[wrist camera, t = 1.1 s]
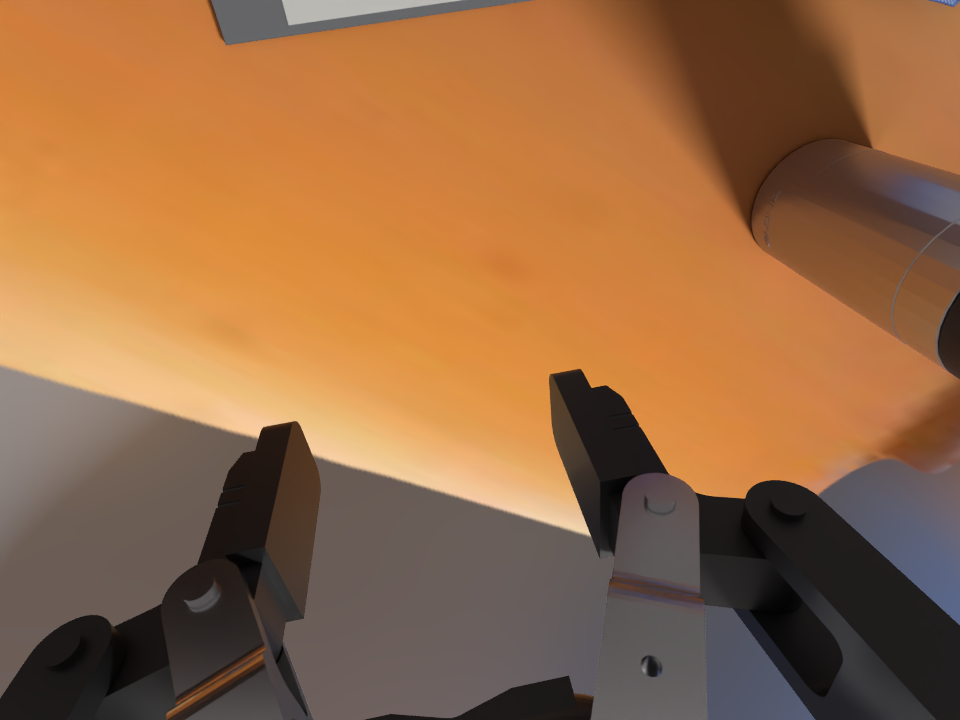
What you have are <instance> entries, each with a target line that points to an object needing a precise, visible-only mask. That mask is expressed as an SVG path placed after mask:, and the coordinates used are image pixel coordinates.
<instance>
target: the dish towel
mask: <svg viewBox="0 0 960 720" xmlns="http://www.w3.org/2000/svg"><path fill="white" fill-rule="evenodd" d="M930 1H934V2H939V3H942V4H945V5H949V6H952V7H954V6H955V5H957V4H958V3H959V1H960V0H930Z"/></svg>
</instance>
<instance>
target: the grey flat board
mask: <svg viewBox="0 0 960 720" xmlns="http://www.w3.org/2000/svg"><path fill="white" fill-rule="evenodd" d="M211 1H212V4H213V7H214V10H215V13H216V16H217V19H218V22H219V25H220V28H221V31H222V34H223V37H224V40H225V44H226V45H231V44H237V43H244V42H251V41H258V40H265V39H272V38H278V37H285V36H292V35H299V34H306V33H312V32H319V31H326V30H333V29H340V28H347V27H353V26H360V25H367V24H374V23H381V22H388V21H394V20H401V19H408V18H415V17H422V16H428V15H435V14H442V13H449V12H456V11H463V10H469V9H476V8H483V7H490V6H497V5H503V4H510V3H517V2H524V1H531V0H211Z"/></svg>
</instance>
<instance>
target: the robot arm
mask: <svg viewBox="0 0 960 720" xmlns="http://www.w3.org/2000/svg"><path fill="white" fill-rule="evenodd" d="M751 225H752V231H753V235H754V238H755V240H756V242H757V244H758V245H759V246H760V247H761V248H762V249H763V251H765V252H766V253H768V254H770V255H771V256H773V257H774V258H776V259H777V260H779V261H780V262H782V263H783V264H785V265H786V266H788V267H789V268H791V269H792V270H794V271H795V272H796V273H798V274H799V275H801V276H802V277H804V278H805V279H807V280H809V281H810V282H812V283H813V284H815V285H816V286H818V287H819V288H821V289H822V290H824V291H825V292H827V293H828V294H830V295H831V296H833V297H834V298H836V299H838V300H839V301H841V302H842V303H844V304H845V305H847V306H848V307H850V308H851V309H853V310H854V311H856V312H857V313H859V314H860V315H862V316H863V317H865V318H867V319H868V320H870V321H871V322H873V323H874V324H876V325H877V326H879V327H880V328H882V329H883V330H885V331H886V332H888V333H889V334H891V335H893V336H894V337H896V338H897V339H899V340H900V341H902V342H903V343H905V344H907V345H908V346H910V347H911V348H913V349H914V350H916V351H917V352H919V353H920V354H922V355H923V356H925V357H927V358H928V359H930V360H931V361H933V362H934V363H936V364H937V365H939V366H940V367H942V368H943V369H945V370H946V371H948V372H950V373H951V374H953V375H954V376H956V377H957V378H959V379H960V175H958V174H954V173H951V172H948V171H944V170H941V169H938V168H934V167H931V166H928V165H924V164H921V163H918V162H914V161H911V160H908V159H904V158H901V157H898V156H894V155H891V154H888V153H885V152H882V151H879V150H875V149H872V148H868V147H865V146H862V145H858V144H855V143H852V142H848V141H845V140H841V139H824V140H818V141H815V142H812V143H809V144H807V145H804V146H803V147H801V148H799V149H797V150H796V151H794V152H792V153H791V154H790V155H788V156H787V157H786V158H785V159H784V160H782V161H781V162H780V163H779V164H778V165H777V166H776V167H775V168H774V170H773V171H772V172H771V173H770V174H769V176H768V177H767V179H766V180H765V182H764V183H763V185H762V186H761V188H760V190H759V192H758V195H757V197H756V199H755V203H754V206H753V210H752V220H751ZM549 386H550V402H551V418H552V428H553V434H554V438H555V442H556V446H557V449H558V451H559V454H560V457H561V459H562V462H563V464H564V467H565V470H566V472H567V475H568V477H569V480H570V483H571V485H572V488H573V490H574V493H575V496H576V498H577V501H578V503H579V506H580V508H581V511H582V514H583V516H584V519H585V521H586V524H587V527H588V529H589V532H590V534H591V537H592V539H593V542H594V545H595V547H596V550H597V553H598V555H599V558H600V559H602V558H607V557H612V556H614V565H613V572H612V579H610V582H609V587H608V594H607V601H606V609H605V616H604V624H603V631H602V639H601V647H600V655H599V662H598V670H597V677H596V685H595V693H594V696H591V695H586V694H575V693H573V689H572V685H571V682H570V678H569V676H565V677H561V678H556V679H552V680H547V681H542V682H537V683H533V684H528V685H523V686H519V687H515V688H511V689H509V690H507V691H505V692H503V693H501V694H499V695H498V696H496V697H494V698H492V699H490V700H488V701H487V702H484V703H482V704H481V705H479V706H477V707H475V708H473V709H471V710H469V711H467V712H465V713H464V714H462V715H460V716H458V717H455V718H435V717H421V716H408V715H395V714H389V715H385V716H380V717H376V718H371V719H366V720H707V684H706V637H705V605H710V606H719V607H728V608H733V609H734V610H735V612H736V613H737V614H738V616H739V617H740V619H741V620H742V621H743V623H744V624H745V625H746V627H747V628H748V629H749V631H750V632H751V633H752V635H753V636H754V637H755V639H756V640H757V641H758V643H759V644H760V645H761V647H762V648H763V650H764V651H765V652H766V654H767V655H768V656H769V658H770V659H771V660H772V662H773V663H774V664H775V666H776V667H777V668H778V670H779V671H780V672H781V674H782V675H783V676H784V678H785V679H786V680H787V682H788V683H789V684H790V686H791V687H792V689H793V690H794V691H795V693H796V694H797V695H798V696H799V698H800V699H801V701H802V702H803V703H804V705H805V706H806V707H807V709H808V710H809V712H810V713H811V714H812V716H813V717H814V718H815V719H816V720H960V625H958V623H956V622H955V621H954V620H953V619H952V618H951V617H950V616H949V615H948V614H947V613H946V612H944V611H943V610H942V609H941V608H940V607H939V606H938V605H937V604H936V603H935V602H933V601H932V600H931V599H930V598H929V597H928V596H927V595H926V594H925V593H924V592H923V591H921V590H920V589H919V588H918V587H917V586H916V585H915V584H914V583H913V582H911V580H909V579H908V578H907V577H906V576H905V575H904V574H903V573H902V572H901V571H900V570H898V569H897V568H896V567H895V566H894V565H893V564H892V563H891V562H890V561H889V560H888V559H886V558H885V557H884V556H883V555H882V554H881V553H880V552H879V551H878V550H876V548H874V547H873V546H872V545H871V544H870V543H869V542H868V541H867V540H866V539H864V538H863V537H862V536H861V535H860V534H859V533H858V532H857V531H856V530H855V529H854V528H852V527H851V526H850V525H849V524H848V523H847V522H846V521H845V520H844V519H843V518H842V517H840V516H839V515H838V514H837V513H836V512H835V511H834V510H833V509H832V508H831V507H829V506H828V505H827V504H826V503H825V502H824V501H823V500H822V499H821V498H819V497H818V496H817V495H816V494H815V493H813V492H812V491H810V490H808V489H807V488H805V487H802V486H800V485H797V484H795V483H791V482H787V481H780V480H771V481H764V482H760V483H758V484H756V485H754V486H753V487H751V489H750V490H749V491H748V493H747V495H746V498H745V499H741V498H727V497H713V496H706V495H702V494H698V493H695V492H694V491H693V490H692V488H691V487H690V486H689V485H688V484H686V483H685V482H684V481H682V480H680V479H678V478H676V477H674V476H671V475H669V473H668V472H667V470H666V469H665V467H664V465H663V464H662V462H661V460H660V459H659V457H658V455H657V454H656V452H655V450H654V449H653V447H652V445H651V444H650V442H649V440H648V439H647V437H646V435H645V434H644V432H643V430H642V429H641V427H639V424H638V422H637V420H636V419H635V417H634V415H632V413H631V410H630V409H629V407H628V405H627V404H626V402H625V400H624V399H623V397H622V396H620V395H619V394H618V393H616V392H615V391H613V390H612V389H610V388H609V387H608V386H606V385H605V386H600V387H595V388H591V386H590V385H589V383H588V381H587V379H586V377H585V375H584V373H583V372H582V370H581V369H577V370H571V371H566V372H560V373H555V374H550V376H549ZM320 492H321V485H320V477H319V472H318V468H317V466H316V463H315V461H314V458H313V456H312V453H311V451H310V448H309V446H308V443H307V441H306V439H305V436H304V434H303V431H302V429H301V426H300V425H299V423H298V422H297V421H294V422H288V423H283V424H278V425H272V426H267V427H263V428H262V430H261V433H260V436H259V439H258V443H257V446H256V450H255V451H251V452H246V453H243V454H242V455H241V456H240V458H239V459H238V460H237V461H236V463H235V464H234V465H233V467H231V469H230V470H229V472H228V475H227V478H226V481H225V484H224V487H223V493H221V495H220V498H219V501H218V508H216V510H215V513H214V516H213V519H212V522H211V525H210V528H209V531H208V535H207V537H206V540H205V543H204V546H203V549H202V552H201V555H200V558H199V561H198V564H197V565H195V566H193V567H192V568H190V569H188V570H187V571H185V572H184V573H183V574H182V575H180V576H179V577H178V578H177V579H176V580H175V582H173V584H172V585H171V586H170V587H169V589H168V590H167V592H166V594H165V595H164V598H163V600H162V604H160V605H158V606H157V607H155V608H153V609H151V610H148V611H146V612H144V613H142V614H140V615H138V616H136V617H134V618H132V619H129V620H127V621H126V622H123V623H121V624H119V625H117V626H115V627H113V626H112V625H111V624H110V622H109V621H108V620H107V619H106V618H104V617H102V616H98V615H89V616H83V617H80V618H76V619H74V620H72V621H69V622H68V623H66V624H64V625H62V626H60V627H59V628H58V629H56V630H54V631H53V632H52V633H51V634H49V635H48V636H47V637H46V638H45V639H43V641H41V642H40V644H38V645H37V647H36V648H35V649H34V650H33V651H32V653H31V654H30V655H29V657H28V658H27V660H26V661H25V663H24V664H23V665H22V667H21V668H20V670H19V671H18V673H17V674H16V676H15V677H14V679H13V680H12V682H11V683H10V685H9V686H8V688H7V689H6V691H5V692H4V694H3V695H2V697H1V698H0V720H313V717H312V714H311V712H310V709H309V707H308V704H307V701H306V698H305V696H304V693H303V690H302V688H301V685H300V683H299V680H298V677H297V674H296V672H295V669H294V667H293V664H292V661H291V658H290V656H289V653H288V650H287V648H286V646H285V644H284V643H283V636H284V629H285V623H286V622H289V621H294V620H299V619H303V618H304V613H305V605H306V598H307V590H308V583H309V575H310V568H311V560H312V553H313V545H314V538H315V530H316V522H317V515H318V508H319V500H320Z"/></svg>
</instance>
